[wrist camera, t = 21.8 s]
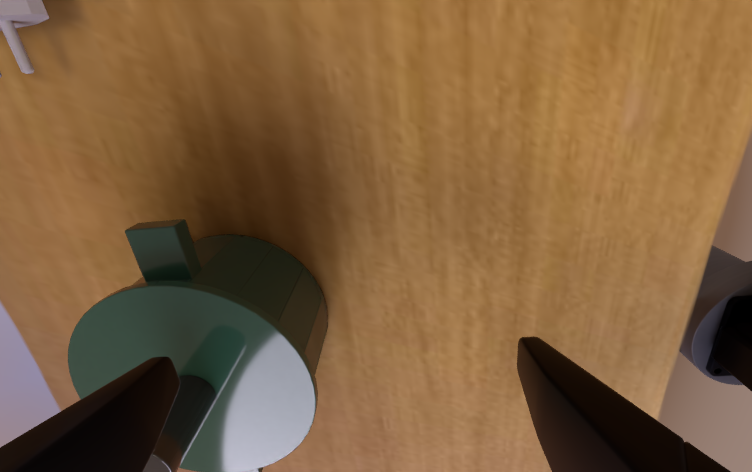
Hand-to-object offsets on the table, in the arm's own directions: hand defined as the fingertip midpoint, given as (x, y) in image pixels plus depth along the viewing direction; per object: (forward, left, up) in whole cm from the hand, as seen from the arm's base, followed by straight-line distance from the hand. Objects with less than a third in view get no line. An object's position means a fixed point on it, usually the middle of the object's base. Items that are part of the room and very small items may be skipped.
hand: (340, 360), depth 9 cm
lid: (+9, +7, -7) cm, 13 cm away
